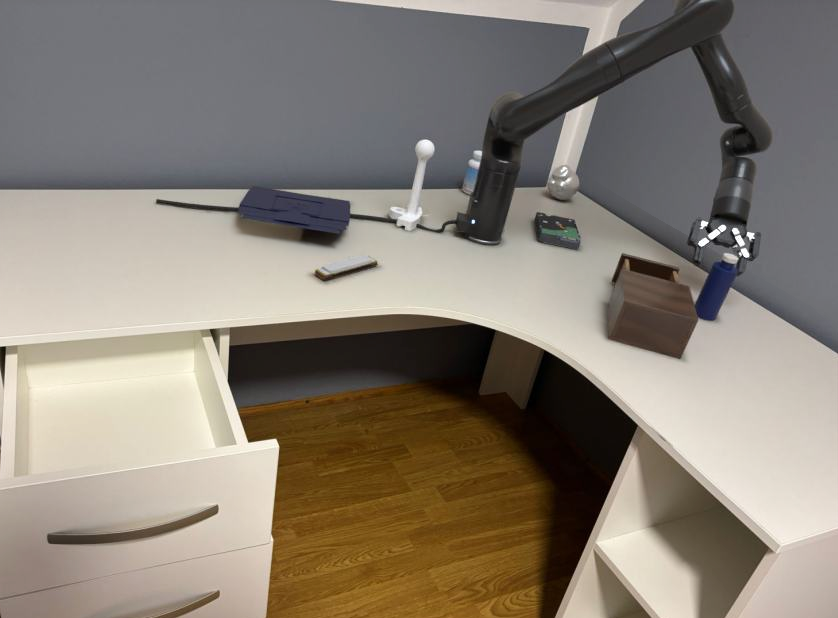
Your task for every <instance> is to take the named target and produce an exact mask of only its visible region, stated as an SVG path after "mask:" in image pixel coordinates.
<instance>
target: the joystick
mask: <svg viewBox="0 0 838 618" xmlns="http://www.w3.org/2000/svg"><path fill="white" fill-rule="evenodd" d="M435 150H436V149H435V144H434V143H433V142H432V141H431V140H429V139H421V140H419V141H418V142H417V143H416V145H415V148H414V153H415V155H416V157H417V166H416V168H415V169H416V170H415V174H414V178H413V184H412V188H411V191H410V197H409V200H408V204H406V207H405V208H404V207H401V206H391V207H390V209H389V216H388V217H389V218H391V219H397V223H395V224H396V225H395V226H397V227H404V231H407V232H410V231H413V230H415V229H416V228H417V227H416V225H417V224H420V225H421V220H422V214H423V208H422V207H421V206H420V202H421V195H422V189H423V185H424V180H425V172H426V167H427V162H428V161H429V160H430V159H431V158H432V157H434V154H435Z"/></svg>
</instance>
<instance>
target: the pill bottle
mask: <svg viewBox="0 0 838 618" xmlns="http://www.w3.org/2000/svg"><path fill="white" fill-rule="evenodd" d="M481 156H482V150H474V151H473V153H472V158H471V159H470V160H469V161H468V163H467V167H466V171H465V176H464V179H463V184H462V187H461V191H462V192H463V193H465V194H466V195H471V192H473V190H474V186H475V182H476V177H477V173H478V169H479V165H480V161H481Z"/></svg>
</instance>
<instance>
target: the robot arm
mask: <svg viewBox="0 0 838 618" xmlns="http://www.w3.org/2000/svg"><path fill="white" fill-rule="evenodd" d="M735 9H736V5H735V2H734V0H676V2H675V4H674V8H673V14H672V15H670V16H669V17H667V18H665V19H664V20H662V21H660V22H658V23H655V24H653V25H650V26H647V27H644V28H641V29H636V30H634V31H630V32H627V33H624V34H620V35H618V36H616V37H615V36H614V37H613V38H610V39H609V40H606V41H605V42H602V43H601V44H599V45H597V46H596V47H594V48H592V49H591V50H588V51H587V52H585V53H584V54H582V55H581V56H580V57H578V58H577V59H576V60H574V62H572V63H571V64H570V65H569V66H568V67H567V68H565V70H563V72H562V73H560V74H559V75H558V76H557V77H556V78H555V79H553V80H552V81H550V82H549V83H547V84H546V85H545V86H543V87H541V88H539V89H537V90H535V91H533V92H531V93H528V94H526V95H523V94H521V93H519V92H515V91H509V92H506V93H503V94H501V95H500V96H498V97H497V98H496V100H495V101H494V102H493V104H492V105H491V109H490V111H489V115H488V119H487V123H486V126H485V132H484V137H483V141H482V146H481V151H482V156H481V161H480V165H479V169H478V173H477V177H476V182H475V186H474V190H473V192H471V195H470V196H469V200H468V204H467V207H466V212H460V211H457V214H456V218H455V219H451V220H447V221H445V222H443V223H442V225H441V228H439V229H432V228H429V227H426V226H425V225H422V224H421V223H420V224H417V225H416V228H417V229H421V230H424V231H427V232H432V233H436V234H440V233H443V232H444V231H445V229H446V227H447V226H449V225H455V231H456V232H461V233H462V236H463V239H467V240H470V241H472V242H475V243H478V244H482V245H490V246H491V245H498V244H501V242H502V238H503V235H504V234H505V231H506V230H505V226H506V223H507V219H508V215H509V212H510V208H511V205H512V202H513V197H514V193H515V190H516V186H517V183H518V179H519V176H520V172H521V169H522V165H523V149H524V144H525V141H526V140H527V139H528V138H530V137H531V136H533V135H535V134H537V132H539V131H540V130H542V129H543V128H545V127H547V126H548V125H549V124H551V123H552V122H554V121H556V120H557V119H558V118H560V117H562V116H563V115H565V114H568V113H569V112H571V111H573V110H575V109H577V108H579V107H581V106H583V105H584V104H586V103H588V102H591V101H592V100H594V99H596V98H597V97H598V98H599V97H600V96H602V95H604V94H606V93H608V92H610V91H612V90H614V89H615V88H617V87H619V86H621V85H622V84H624V83H626V82H628V81H630V80H631V79H633V78H634V77H637V76H638V75H640V74H641V73H644V72H646V71H647V70H649V69H651V68H652V67H655V66H656V65H658V64H660V63H662V62H663V61H665V60H666V59H668V58H670V57H673V56H674V55H676V54H678V53H681V52H683V51H686V50H688V49H689V48H690V49H691V51H692V54H693V55H694V57H695V59H696V61H697V64H698V65H699V68H700V70H701V72H702V75H703V77H704V80H705V82H706V86H707V88H708V91H709V93H710V97H711V99H712V102H713V105H714V108H715V110H716V113H717V117H718V118H719V120H720V121H721V123H724V124H728V125H729V124H730V125H733V126H729V127H727V128H726V129H724V131H722V133H721V135H720V138H719V148H720V155H721V172H720V176H719V180H718V185H717V187H716V190H715V193H714V197H713V200H712V201H713V202H712V207H711V212H710V216H709V221H704V220H703V218H702V217H697V218H695V220H694V222H693V223H692V225H691V228H690V232H689V235H688V238H687V241H686V245H687V246H689V247H692V248H693V249H694V250H693V256H692V263H694V264H693V266H695V267H699V266H700V265H701V262H702V260H703V257H704V256H703V255H704V251H705V247H707V246H708V245H709V244H711V243H713V245H715V246H721V247H724V248H726V249H729V248H730V249H731V250H732V252H733V254H735V256H737V257H738V261H737V263H736V264H735V265H736V266H735V268H737V269H738V273H737V275H736V277H739V276H741V275H742V274H744V273H745V271H746V269H747V264H748V261H749V262H753V261H755V259H756V258H758V257H759V254H760V247H761V239H762V233H761V232H760V231H756V232H749V231H748V230H747V225H748V220H749V216H750V211H751V207H752V202H753V197H754V187H755V182H756V177H757V171H758V165H757V163H756V162H755V161H754V160H753V159H751V158H749V157H746V156H753V155H758V154H762V153H765V152H767V151H768V150H769V149H770V148H771V147H772V145H773V141H774V133H773V129H772V127H771V125H770V123H769V122H768V120H767V119H766V118H765V116H764V115H763V114H762V113H761V111H760V110H759V109H758V108H757V105H755V103H754V101H753V99H752V96H751V93H750V90H749V87H748V84H747V81H746V79H745V76H744V74H743V73H742V70H741V69H740V67H739V65H738V64H737V62H736V60H735V59H734V57H733V56H732V53H731V52H730V49H729V48H728V46H727V44H726V42H725V39H724V37H723V34H722V33H723V31H724V30H726V29H727V27H728V26H729V24H730V23H731V21H732V20H733V17H734V14H735ZM155 203H156V204H161V205H169V206H176V207H184V208H192V209H203V210H212V211H227V212H238V211H239V209H238V207H239V206H238V207H236V206H224V205H223V206H222V205H211V204H210V205H209V204H198V203H191V202H190V203H189V202H181V201H173V200H166V199H160V198H156V200H155ZM350 218H352V219H361V220H362V219H363V220H371V221H379V222H385V223H386V222H387V223H393V224H396V223H397V219H391V217H382V216H377V215H376V216H374V215H369V214H368V215H366V214H357V213H350ZM704 228H705V231H706V233H707V235H706V236H705V237H704V238H702V239H701V240H699V239H698V236H699V233H700V231H702V230H703V229H704ZM744 239H746V240H747V243H748V244H749V246H748V250H747V247H746V246H747V245H746V243H745V241H744Z"/></svg>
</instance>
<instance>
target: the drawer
mask: <svg viewBox="0 0 838 618" xmlns="http://www.w3.org/2000/svg"><path fill="white" fill-rule="evenodd" d="M622 269H625V270H629V271H633V272H637V273H641V274H644V275H648V276H652V277H656V278H660V279H664V280H668V281H671V282H675V283H679V284H680V281H679V272H680V270H681V269H680V267H679V266H675V265H671V264H668V263H663V262H659V261H655V260H651V259H647V258H644V257H640V256H635V255H632V254H628V253H625V252H621V254H620V257H619V259H618V262H617V265H616V268H615V270H614V273H613V276H612V278H611V283H613V284H614V285H615V286H616V283H617V280H618V278H619V275H620V273H621V270H622ZM615 286H614V287H615Z"/></svg>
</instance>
